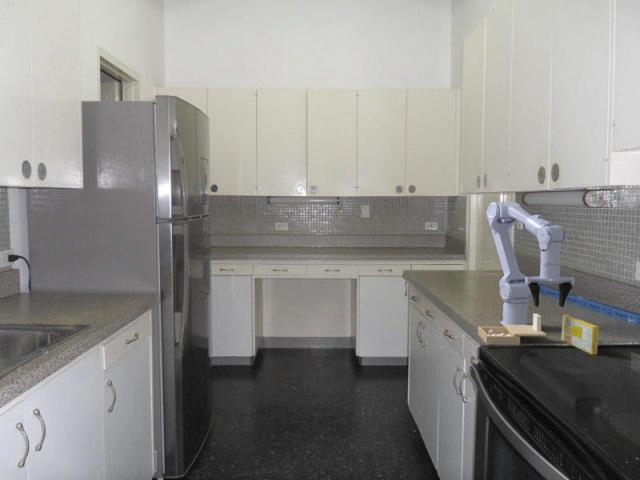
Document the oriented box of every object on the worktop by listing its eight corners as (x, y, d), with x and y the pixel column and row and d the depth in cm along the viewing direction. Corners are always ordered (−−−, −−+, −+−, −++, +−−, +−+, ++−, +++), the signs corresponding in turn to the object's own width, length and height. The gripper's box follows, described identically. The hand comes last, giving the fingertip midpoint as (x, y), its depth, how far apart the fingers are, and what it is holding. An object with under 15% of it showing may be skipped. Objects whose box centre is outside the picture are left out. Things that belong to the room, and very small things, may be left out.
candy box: (598, 355, 157) (599, 326, 156) (591, 355, 157) (592, 326, 156) (567, 339, 173) (567, 314, 172) (560, 340, 173) (561, 314, 172)
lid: (504, 326, 179) (504, 310, 178) (534, 326, 178) (534, 311, 178) (513, 335, 167) (514, 319, 167) (546, 336, 167) (546, 319, 166)
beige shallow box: (478, 334, 180) (478, 326, 180) (509, 334, 179) (509, 327, 179) (486, 344, 168) (486, 336, 168) (519, 345, 167) (520, 336, 167)
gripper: (530, 265, 169) (529, 308, 170) (579, 265, 168) (577, 309, 169) (523, 262, 176) (522, 304, 177) (570, 262, 175) (568, 304, 176)
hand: (548, 306), depth 174 cm, fingers open, 7 cm apart
